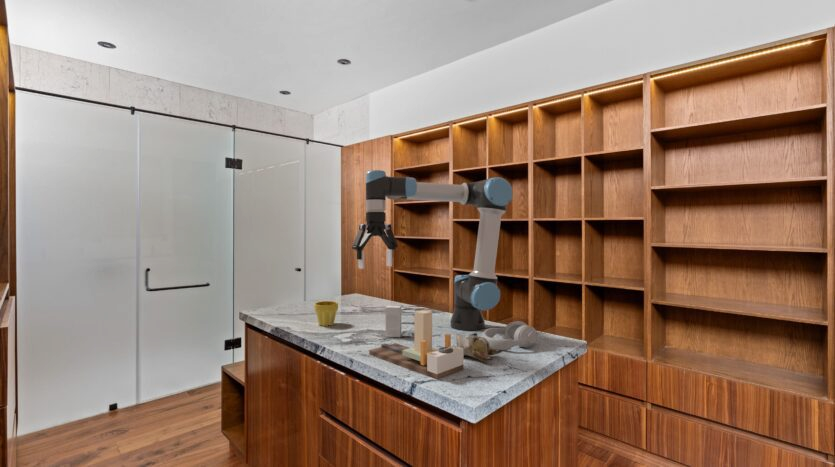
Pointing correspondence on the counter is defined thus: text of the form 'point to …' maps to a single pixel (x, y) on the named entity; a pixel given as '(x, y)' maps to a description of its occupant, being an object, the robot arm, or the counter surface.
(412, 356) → the upright wooden block
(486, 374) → the counter surface
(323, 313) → the plant pot
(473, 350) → the ceramic sculpture
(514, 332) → the headphones
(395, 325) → the skincare box
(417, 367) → the rail base
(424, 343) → the frame
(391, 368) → the counter surface
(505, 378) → the counter surface
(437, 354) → the cream rectangular block
